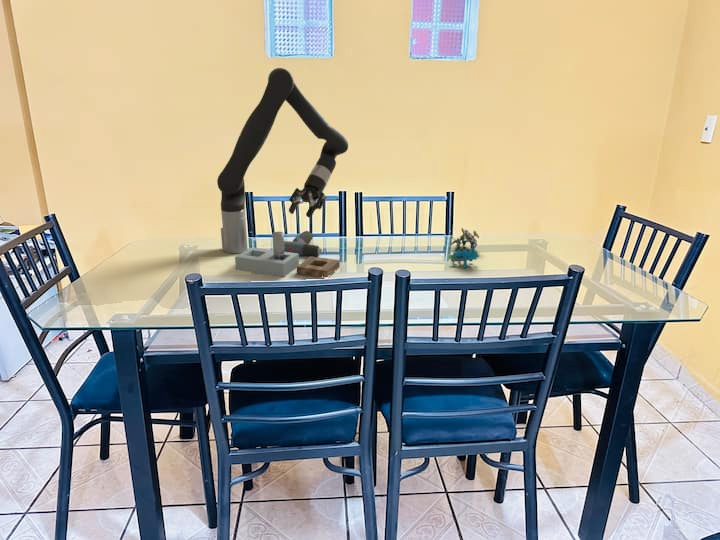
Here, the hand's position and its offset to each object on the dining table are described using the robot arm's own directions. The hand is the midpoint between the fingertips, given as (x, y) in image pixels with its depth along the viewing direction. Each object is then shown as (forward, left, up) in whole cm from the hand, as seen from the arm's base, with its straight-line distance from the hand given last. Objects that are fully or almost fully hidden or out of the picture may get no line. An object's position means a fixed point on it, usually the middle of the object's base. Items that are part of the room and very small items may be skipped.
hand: (299, 214), depth 185 cm
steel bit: (-3, -11, -19) cm, 22 cm away
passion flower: (+58, +38, -19) cm, 72 cm away
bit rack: (-8, -11, -19) cm, 23 cm away
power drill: (-4, +15, -19) cm, 24 cm away
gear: (+60, +19, -19) cm, 66 cm away
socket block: (+11, -7, -19) cm, 23 cm away
